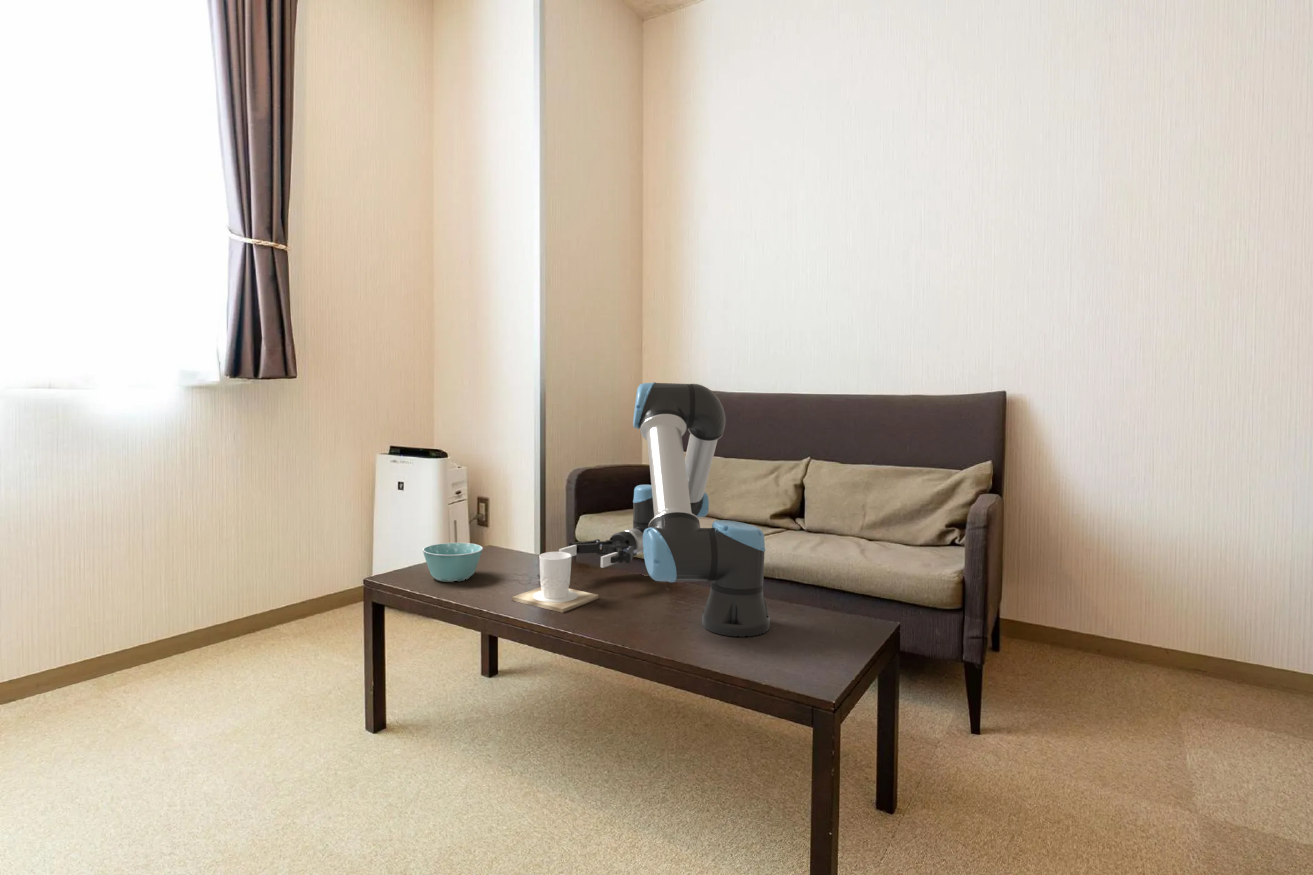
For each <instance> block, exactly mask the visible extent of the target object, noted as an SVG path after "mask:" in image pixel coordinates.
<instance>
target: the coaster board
mask: <svg viewBox="0 0 1313 875" xmlns="http://www.w3.org/2000/svg"><path fill="white" fill-rule="evenodd" d="M598 599H599V594H596V593H591V592H587V591H583V590H582V591H581V590H578V589H573V588H569V594H568V596H567V597H564V598H559V599H549V598H544V597H543V596H541V586H540V587H537V588H533V589H531V590H528V591H525V592H522V593H518V594H517V595H514V596H511V601H514V602H517V603H522V604H525V605H528V606H533V607H537V608H542V609H545V610H550V611H553V612H558V613H565V612H568V611H570V610H573V609H576V608H578V607H581V606H584V605H586V604H588V603H591V602H593V601H595V600H598Z"/></svg>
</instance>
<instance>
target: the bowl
mask: <svg viewBox="0 0 1313 875" xmlns="http://www.w3.org/2000/svg"><path fill="white" fill-rule="evenodd" d="M483 550H484V548H483V546H481V545H479V544H476V543H470V542H469V543H468V542H445V543H443V542H442V543H436V544H435V543H434V544H431V545H430V544H429V545H427V546H424V547H423V548H422V553H423V555H424V559H425V563H426V565H427V567H428V570H429V572H430V575H431V576H432V577H433V578H434V579H435V580H436V581H439V582H445V583H455V582H454V581H458V582H462V581H466V580H468V579H470V578H471V577H472V576H473V575H474V574H475V572H476V569H477V567H478V563H479V560H480V558H481V555H482V553H483ZM465 579H466V580H465Z"/></svg>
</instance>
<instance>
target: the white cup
mask: <svg viewBox="0 0 1313 875" xmlns="http://www.w3.org/2000/svg"><path fill="white" fill-rule="evenodd" d="M538 556H539V581H540V582H539V583H540V587H541V596H543V597H544V598H549V599H559V598H564V597H567V596H568V594H569V589H570V588H569V587H570V584H571V583H570V582H571V572H572V571H571V569H572V557H573V556H572V555H571V554H569V553H565V552H559V551H548V552H544V553H541V554H539V555H538Z"/></svg>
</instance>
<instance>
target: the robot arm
mask: <svg viewBox="0 0 1313 875" xmlns="http://www.w3.org/2000/svg"><path fill="white" fill-rule="evenodd" d="M633 410H634V411H633V422H632V425H633V428H634V429H637V430H639V431H640V435H641V437H642V438H643V439H645V441H647V450H648V452H647V454H648V461H649V462H648V463H649V472H650V483H651V484H639V485H638V484H637V485H636V486H635V487H634V489H633V499H632V503H633V504H632V505H633V506H632V507H633V508H632V509H633V512H632V514H633V516H632V519H633V520H632V527H631V528H629V529H626V530H623V531H619V532H615V533H614V534H612V535H611V537H610V538H609V539H606V540H602V541H601V539H593V540H585V541H584V540H583V541H576V542H568V544H567V545H568V546H565V547H563V548H558V552H565V553H569V554H571V555H572V557H575V556H577V554H578V555H579V554H580V555H581V554H582V555H583V554H596V555H603V556H600V565H599V566H600V568H606V567H610V566H612V565H614V564H618V563H620V564H622V563H624V562H625V563H626V564H630V563H631V562H632V560H633V558H634V557H637V555H640V554H642V553H643V558H644V564H645V568H646V571H647V573H648V575H649V577H650V578H651V579H652V580H654V581H655V582H669V583H671V584H672V583H679V582H680V583H681V582H710V591H709V594H708V598H707V599H706V600H707V601H706V604H705V607H704V609H703V612H702V614H701V616H702V617H701V626H702V627H703V628H704V629H706V630H707V631H709V632H712V633H714V634H718V635H721V636H727V637H736V638H737V636H739V638H742V637H744V638H745V636H748V637H756V636H759V635H758V634H760V635H763V634H765V633H767V632H768V631H769V630H770V625H771V624H770V623H771V618H770V617H771V616H770V615H769V612H768V607H767V604H766V600H765V596H764V575H765V574H764V573H765V571H764V570H765V552H766V546H765V545H766V542H765V540H766V539H765V534H764V531H763V530H762V529H761V528H759V527H757V526H755V525H753V524H749V523H745V522H739V521H735V520H726V519H720V520H719V519H718V520H714V521H713V522H712V524H711V527H701V524H700V519H699V518H704V517H706V516H707V515H708V513H709V507H710V499H709V496H708V494H707V493H706V492H705V491H706V487H707V482H708V478H709V475H710V472H711V467H712V463H713V459H714V456H715V453H716V447H717V444H718V440H719V439H721V438H722V437H723V435H724V432H725V427H726V412H725V410H724V407H723V404H722V403H721V400H720V399H719V397H718V396H717V395H716V394H715V392H713V391H712V390H711V389H709V387H706V386H704V385H702V384H698V383H671V382H670V383H667V382H665V383H663V382H654V381H653V382H643V383H641V384H639V385H638V387H637V389H636V396H635V403H634V409H633ZM687 430H688V432H689V433H690V434H689V437H688V443H687V448H686V453H684V452H685V450H684V444H683V439H682V437H683V436H684V434H685V433H686V431H687ZM600 550H601V551H600ZM768 629H769V630H768ZM766 631H767V632H766ZM762 633H763V634H762ZM755 635H756V636H755Z"/></svg>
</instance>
